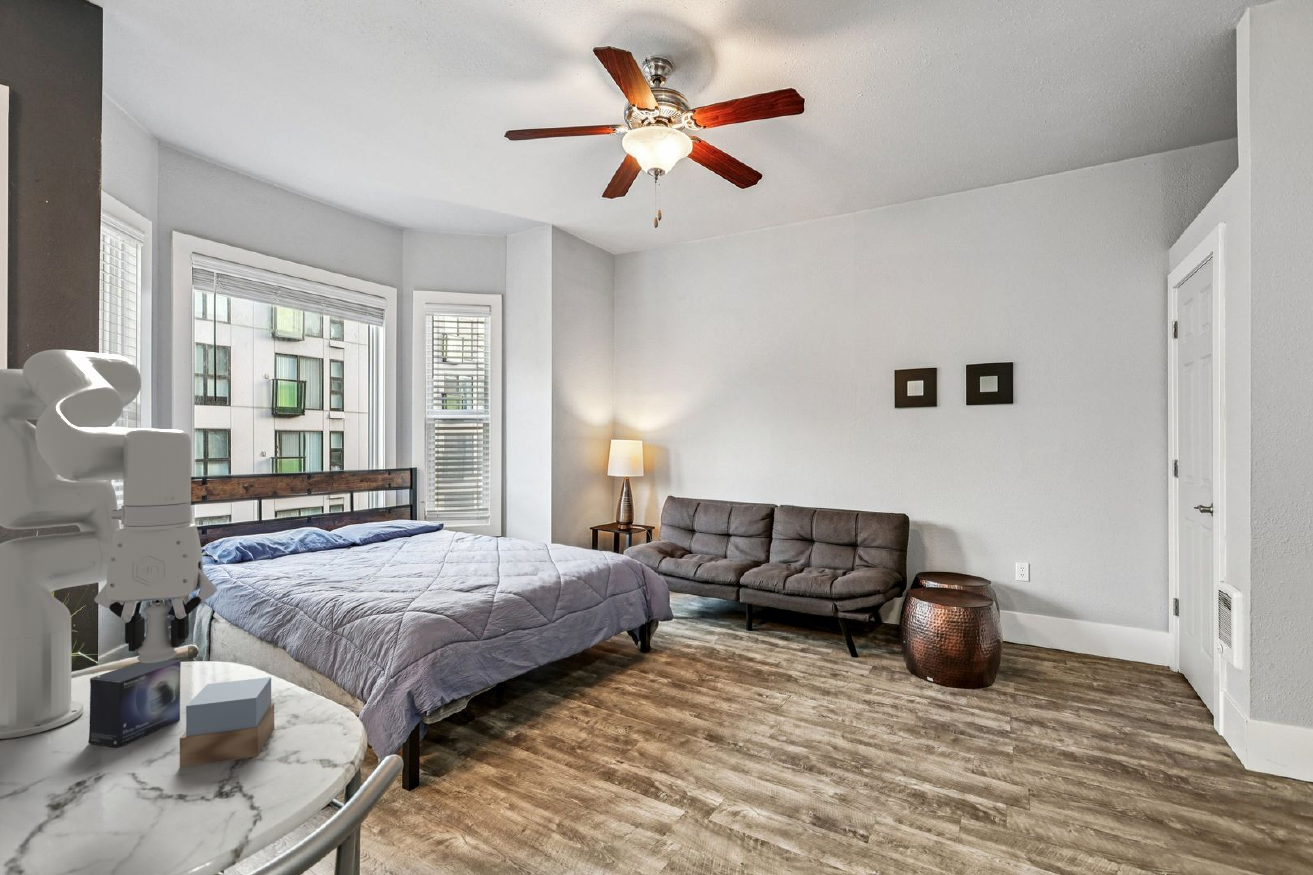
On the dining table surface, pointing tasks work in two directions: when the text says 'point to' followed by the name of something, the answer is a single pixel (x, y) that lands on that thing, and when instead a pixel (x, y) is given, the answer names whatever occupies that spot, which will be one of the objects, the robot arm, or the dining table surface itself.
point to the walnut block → (226, 743)
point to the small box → (133, 702)
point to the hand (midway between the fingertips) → (157, 644)
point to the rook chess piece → (156, 634)
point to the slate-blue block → (228, 706)
